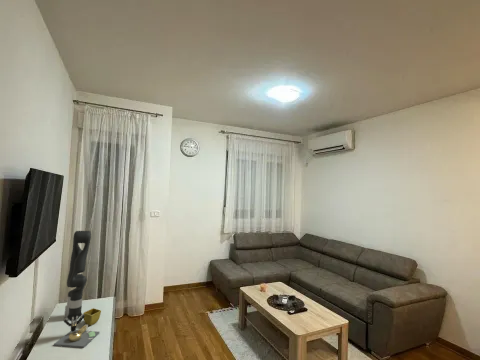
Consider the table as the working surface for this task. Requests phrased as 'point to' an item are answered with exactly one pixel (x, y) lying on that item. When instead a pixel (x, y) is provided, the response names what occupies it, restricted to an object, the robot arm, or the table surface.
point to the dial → (77, 334)
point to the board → (85, 340)
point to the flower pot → (92, 316)
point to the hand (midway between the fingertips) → (73, 330)
